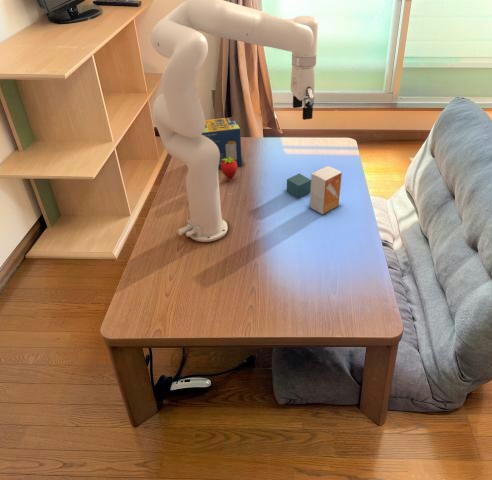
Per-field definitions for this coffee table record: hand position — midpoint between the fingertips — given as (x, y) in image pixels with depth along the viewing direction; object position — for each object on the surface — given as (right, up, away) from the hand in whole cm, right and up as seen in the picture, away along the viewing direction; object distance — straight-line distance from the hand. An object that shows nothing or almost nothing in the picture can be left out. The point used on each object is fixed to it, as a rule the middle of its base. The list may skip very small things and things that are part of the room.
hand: (302, 113), depth 161 cm
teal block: (-1, -25, +11) cm, 27 cm away
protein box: (-31, -12, +27) cm, 43 cm away
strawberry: (-26, -20, +17) cm, 37 cm away
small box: (+8, -31, +3) cm, 32 cm away
